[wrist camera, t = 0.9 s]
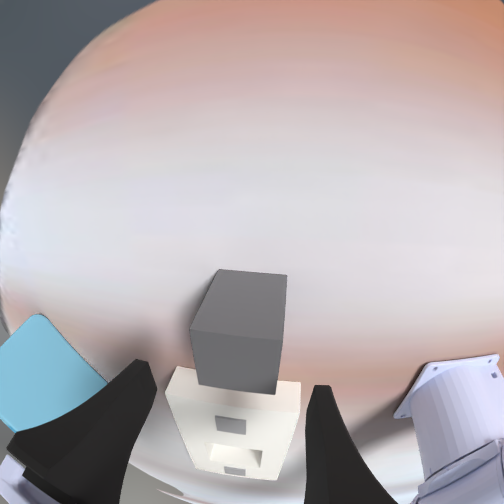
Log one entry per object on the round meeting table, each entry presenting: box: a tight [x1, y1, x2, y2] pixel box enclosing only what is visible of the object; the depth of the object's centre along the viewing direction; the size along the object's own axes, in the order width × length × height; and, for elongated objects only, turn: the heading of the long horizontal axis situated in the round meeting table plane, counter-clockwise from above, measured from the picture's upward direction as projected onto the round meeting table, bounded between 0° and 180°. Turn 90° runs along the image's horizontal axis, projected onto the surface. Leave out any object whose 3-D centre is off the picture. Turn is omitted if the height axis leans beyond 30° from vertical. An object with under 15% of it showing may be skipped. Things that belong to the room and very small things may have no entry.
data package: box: [0, 314, 107, 433], centre depth 19 cm, size 12×4×12 cm, turn 34°
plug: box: [189, 269, 287, 395], centre depth 15 cm, size 4×4×6 cm
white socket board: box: [165, 366, 301, 481], centre depth 23 cm, size 10×18×3 cm, turn 179°
